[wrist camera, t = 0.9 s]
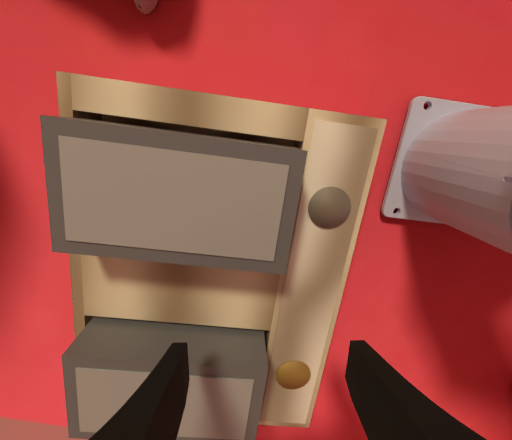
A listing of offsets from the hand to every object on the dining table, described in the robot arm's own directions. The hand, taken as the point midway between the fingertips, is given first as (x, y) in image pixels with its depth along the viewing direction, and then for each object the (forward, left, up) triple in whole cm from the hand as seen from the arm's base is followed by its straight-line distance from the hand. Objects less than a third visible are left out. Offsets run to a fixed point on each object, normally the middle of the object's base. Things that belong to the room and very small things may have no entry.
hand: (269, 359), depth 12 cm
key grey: (+5, -6, -6) cm, 10 cm away
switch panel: (+3, 0, -9) cm, 10 cm away
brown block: (+5, +6, -6) cm, 10 cm away
